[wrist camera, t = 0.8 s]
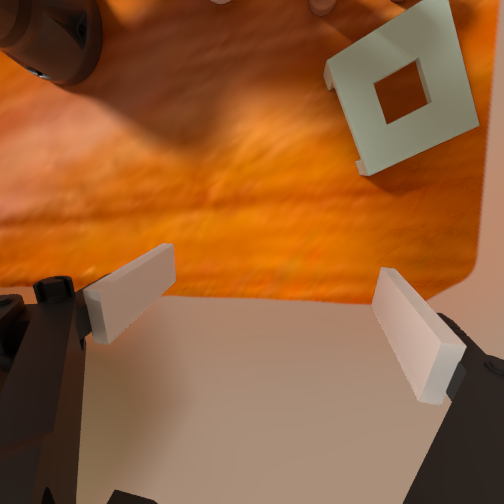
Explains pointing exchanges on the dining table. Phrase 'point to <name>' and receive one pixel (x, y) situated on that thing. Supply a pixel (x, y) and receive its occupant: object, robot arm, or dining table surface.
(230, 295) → the dining table surface
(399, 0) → the short pin
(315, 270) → the dining table surface
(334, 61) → the bridge
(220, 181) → the dining table surface
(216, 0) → the cup
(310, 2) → the long pin
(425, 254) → the dining table surface
